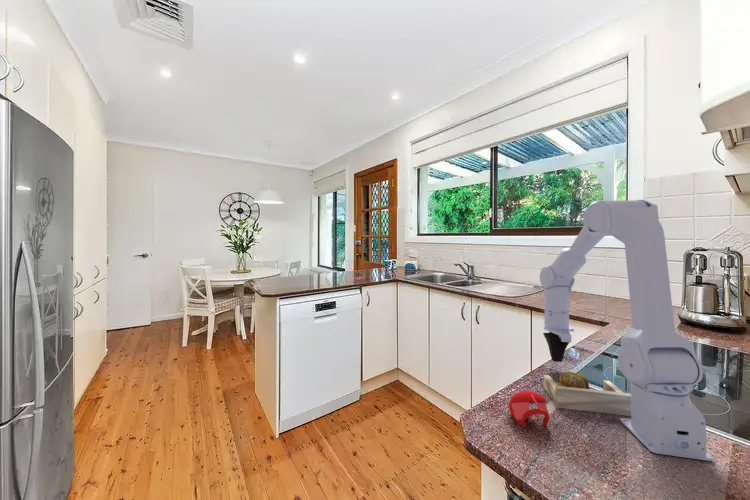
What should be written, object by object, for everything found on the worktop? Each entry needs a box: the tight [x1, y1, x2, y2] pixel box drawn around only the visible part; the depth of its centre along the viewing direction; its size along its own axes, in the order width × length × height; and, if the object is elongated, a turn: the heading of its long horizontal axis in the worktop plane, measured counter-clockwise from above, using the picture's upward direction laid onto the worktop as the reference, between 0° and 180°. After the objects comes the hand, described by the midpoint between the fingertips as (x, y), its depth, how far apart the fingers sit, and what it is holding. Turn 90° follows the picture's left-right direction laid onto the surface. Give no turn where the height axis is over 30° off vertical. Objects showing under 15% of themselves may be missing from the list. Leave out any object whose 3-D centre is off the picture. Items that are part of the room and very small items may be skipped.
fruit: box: [553, 371, 590, 389], centre depth 69 cm, size 8×8×4 cm
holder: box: [543, 374, 631, 417], centre depth 63 cm, size 9×13×4 cm
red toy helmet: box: [508, 390, 550, 428], centre depth 56 cm, size 8×6×6 cm
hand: (556, 360), depth 80 cm, fingers closed
